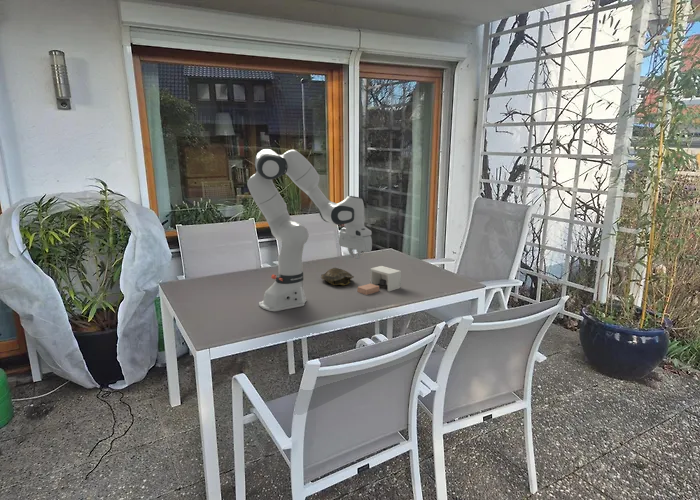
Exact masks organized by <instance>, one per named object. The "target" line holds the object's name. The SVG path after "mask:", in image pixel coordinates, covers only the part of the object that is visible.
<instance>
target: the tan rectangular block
mask: <svg viewBox="0 0 700 500" xmlns="http://www.w3.org/2000/svg"><path fill="white" fill-rule="evenodd" d="M379 292H380V285H378V284H376V285H374V284H370V283H367V284H363V285H358V286H357V293H360V294H363V295H364V296H367V295H371V294H374V293H379Z"/></svg>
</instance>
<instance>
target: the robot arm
mask: <svg viewBox="0 0 700 500" xmlns="http://www.w3.org/2000/svg"><path fill="white" fill-rule="evenodd" d="M254 171H255V173H254V174H252V175H251V176H250V177H249V178H248V180H247V183H246V185H247V189H248V191H249V194H250V195H251V198H252V199H253V201H254V203H255V204H256V206H257V207H258V209H259V210H260V212H261V213H262V215H263V217H264V218H265V220H266V222H267V224H268V226H269V229H270V231H271V235H272V236H273V238H274V239H276V240H278V241H279V242H281V246H280V247H281V248H280V252H279V255H278V256H277V263H278V266H277V267H278V273H277V275H276V274H271V277H270V278H271V279H273V280H275V281H274V282H273V284H271V286H270V287H269V288H267V289H266V290H265V292H264V295H263V300H262V301H259V302H258V304H259V307H260V308H261V309H263V310H265V311H269V312H280V311H283V310H284V311H285V310H290V309H294V308H299V307H304V306H305V303H306V302H307V300H308V299H307V297H306V294H305V289H304V288H305V287H304V272H303V251H304V247H305V244H306V243H307V242H308V240H309V231H308V229H307V227H305V225H304V224H302V223H300V222H298V221H294V219H292V217H291V216H290V213H289V211H288V206H287V204H286V201H285V200H284V199H283V197H282V195H281V194H280V192H279V191H278V189H277V187H276V186H275V183H274V181H273V180H275V179H278V178H279V177H282V176H283V175H286V176H287V177H288V178H290V180H291V181H292V182H293V183H294V184H295V185H296V187H298V188H299V189H300V190H301V191H302V192H303V193H304V194H306V195H307V197H308V198H309V199H310V200H311V202H312V203H313V204H314V205H315V206H316V208H317V211H318V214H319V217H320V218H321V220H323V221H324V222H326V223H330V224H334V225H337V226H342V225H345V227H342V228H341V229H340V230H339V231H340V232H339V237H338V245H339V247H343V248H347V250H348V253H349V258H352V259H353V258H355V259H356V260H359V259H361V254H362V252H363V253H369V252H371V251H372V248H373V239H372V238H373V237H372V235H373V233H372V230H371V229H369V228H368V227H366V226H365V222H364V216H365V206H364V201H363V199H362V198H361V197H360V196H355V195H347V196H346V197H345V199H343V200H341V201H340V202H338V203H336V202H334V201H331V200H330V199H328V198H327V197H326V195H325V194H324V193H323V192H322V190H321V189H320V187H319V183H320V175H319V173H318V171H317V170H316V169H315V167H314V166H313V165H312V164H311V162H310V161H309V160H308V158H306V157H305V156H304V155H303V154H301V152H299V151H297V150H296V149H290V150H287V151H285V152H284V153H283V154H278V153H277V152H276V150H274V149H272V148H268V147H266V148H265V147H264V148H262V149H259V151H257V153H256V154H255V157H254ZM353 250H355V251H356V254H355V253H354V252H353Z"/></svg>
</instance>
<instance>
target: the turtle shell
mask: <svg viewBox="0 0 700 500" xmlns="http://www.w3.org/2000/svg"><path fill="white" fill-rule="evenodd" d="M354 277H355V276H354V275H352V274H351V273H350V272H349V271H347V270H344V269H341V268H339V267H338V268H337V267H332V268H330V269H328V270H327V271H326V272H325V273H323V274H321V275H320V279H321V280H323V281H325V282H327V283H329V284H331V285H333V286H347V285H349V284H350V283H351V279H353V278H354Z"/></svg>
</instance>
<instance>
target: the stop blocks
mask: <svg viewBox="0 0 700 500" xmlns="http://www.w3.org/2000/svg"><path fill="white" fill-rule="evenodd" d="M379 285H382V286H386V280H384V279H381V280H380V284H379Z"/></svg>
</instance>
